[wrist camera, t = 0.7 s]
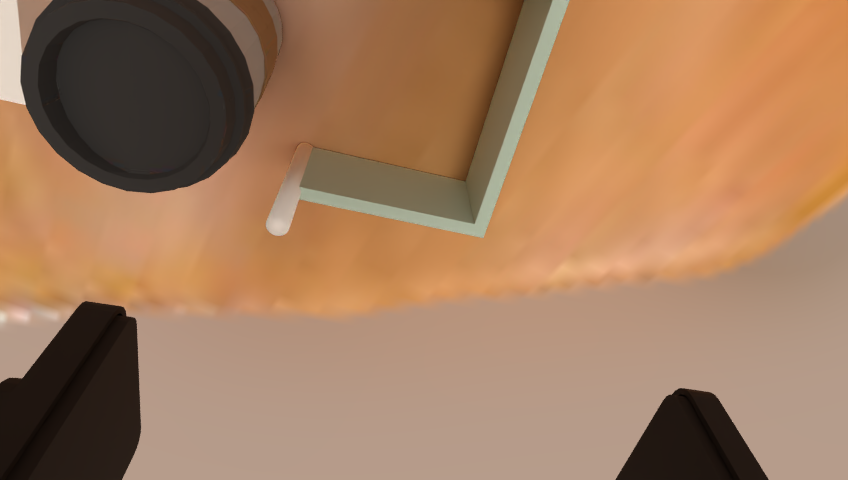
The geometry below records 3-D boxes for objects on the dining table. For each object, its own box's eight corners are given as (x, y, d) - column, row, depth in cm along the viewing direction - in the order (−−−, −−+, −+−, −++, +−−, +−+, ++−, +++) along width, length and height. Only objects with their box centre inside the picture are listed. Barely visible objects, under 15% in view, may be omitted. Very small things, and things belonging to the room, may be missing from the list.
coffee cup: (155, 76, 36) (16, 181, 23) (157, -74, 31) (-12, -49, 19) (291, 107, 37) (232, 223, 24) (310, -33, 33) (252, 17, 20)
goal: (334, -94, 31) (308, -88, 23) (548, -32, 33) (599, -4, 25) (295, 157, 39) (264, 233, 30) (472, 196, 41) (490, 278, 32)
